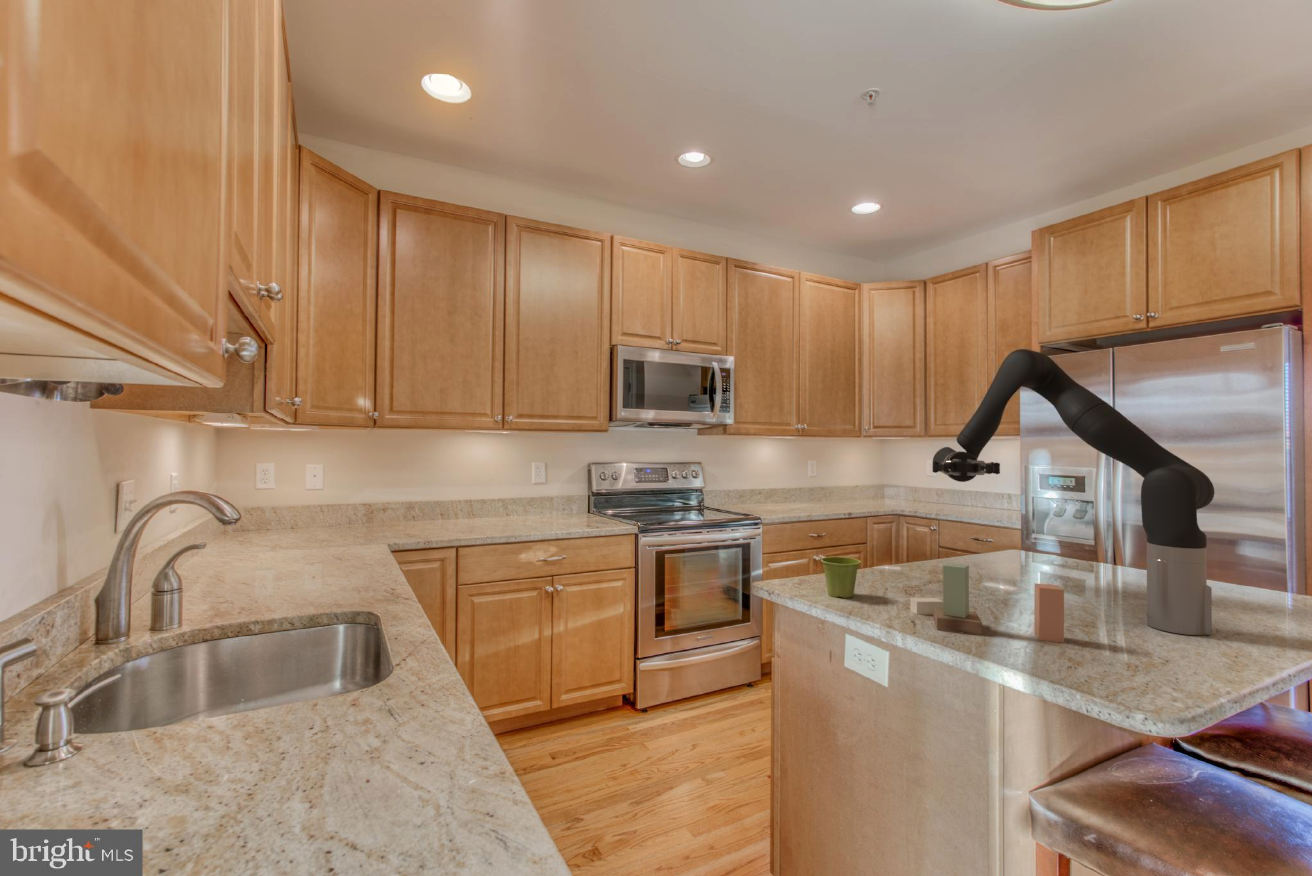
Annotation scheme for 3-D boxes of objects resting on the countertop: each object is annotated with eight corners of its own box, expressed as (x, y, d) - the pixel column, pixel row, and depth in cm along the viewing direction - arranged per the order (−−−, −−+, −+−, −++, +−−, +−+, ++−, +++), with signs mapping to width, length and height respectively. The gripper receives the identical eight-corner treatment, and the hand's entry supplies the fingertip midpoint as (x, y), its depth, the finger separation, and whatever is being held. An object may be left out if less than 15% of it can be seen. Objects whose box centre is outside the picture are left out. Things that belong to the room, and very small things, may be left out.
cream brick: (936, 611, 133) (936, 597, 133) (943, 615, 130) (943, 601, 130) (910, 611, 133) (910, 598, 133) (916, 615, 130) (916, 601, 130)
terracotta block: (1058, 636, 116) (1058, 585, 116) (1063, 642, 112) (1063, 589, 112) (1034, 633, 117) (1034, 583, 117) (1039, 639, 114) (1039, 587, 114)
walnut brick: (975, 626, 124) (975, 611, 124) (981, 637, 116) (982, 622, 116) (933, 621, 127) (933, 607, 127) (937, 632, 119) (937, 617, 119)
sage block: (968, 613, 122) (968, 565, 122) (964, 617, 119) (964, 567, 119) (947, 610, 124) (947, 562, 125) (943, 614, 121) (943, 565, 121)
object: (838, 601, 140) (839, 565, 140) (812, 592, 148) (812, 558, 148) (868, 597, 144) (869, 562, 144) (841, 589, 152) (841, 555, 152)
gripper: (929, 451, 153) (934, 451, 138) (991, 451, 148) (1004, 452, 133) (929, 480, 153) (934, 483, 138) (991, 481, 148) (1004, 485, 133)
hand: (968, 468), depth 135 cm, fingers open, 8 cm apart
